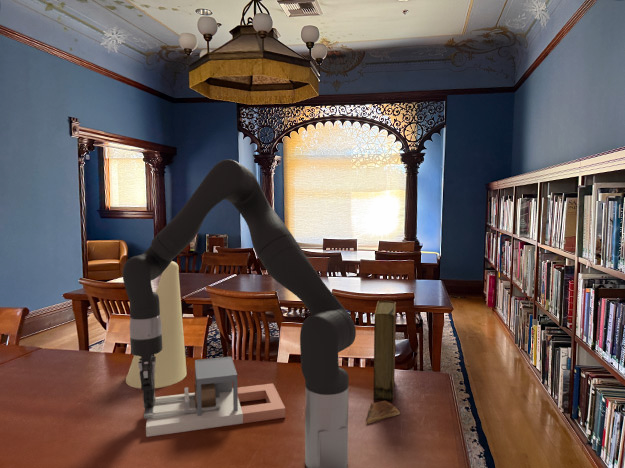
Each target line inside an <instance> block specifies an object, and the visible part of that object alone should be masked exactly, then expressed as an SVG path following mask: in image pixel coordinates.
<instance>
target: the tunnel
mask: <svg viewBox="0 0 625 468" xmlns="http://www.w3.org/2000/svg"><path fill="white" fill-rule="evenodd" d="M232 357H233V356H224V357H223V356H221V357H215V358H214V357H211V358H204V359H203V358H202V359H201V358H200V359H194V379H195V380H194V381H195V383H197V415H198V416H202V407H201V385H202V384H211V383H214V384H217V386H218V391H219V393H221V392H230V391H232V388H233V410H234V411H238V372H237V370H236V366H235V364H234V361H233V358H232ZM195 383H194V384H195Z"/></svg>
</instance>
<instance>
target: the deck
mask: <svg viewBox="0 0 625 468" xmlns="http://www.w3.org/2000/svg"><path fill="white" fill-rule="evenodd" d="M237 387H238V386H237ZM193 394H195V392H189V395H193ZM177 396H185V393H180V394H172V395H163V396H155V399H160V398H168V397H177ZM219 396H220V409H216V410H208V411H202V416H198V415H197V412H193V413H185V414H178V415H170V416H162V417H155V418H147V419H146V424H145V425H146V426H145V435H146V438H148V437H155V436H162V435H169V434H177V433H185V432H190V431H191V432H192V431H197V430H205V429H213V428H219V427H226V426H234V425H240V424H247V423H254V422H262V421H269V420H276V419H282V418H283V419H284V418H286V406H285V405H284V403H283V401H282V398H281V397H280V394H279V392H278V390H277V388H276V386H275V385H274V383H266V384H256V385H249V386H248V385H247V386H240V387H238V411H234V410H233V387H232V391H230V392H221V393H219ZM258 400H265V401H266V402H265V403H259V404H252V405H251V404H250V405H244V406H241V403H242V402H250V401H258ZM189 408H196V407H195V398H194V399H189ZM181 409H185V400H178V401H170V402H162V403H155V406H154V412H153V413H158V412H166V411H173V410H181Z"/></svg>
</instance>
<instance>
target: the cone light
mask: <svg viewBox="0 0 625 468" xmlns="http://www.w3.org/2000/svg"><path fill="white" fill-rule="evenodd" d="M179 266H180V265H178V263H177V262H175V261H173V260H172V262H171V263H170V264H169V265H168V267H167V268H166V269H165V270H164V272H163V273H162V274H161V275H160V278H159V282H158V285H157V287H156V290H155V292H156V293H157V294H158V296H159V303H160V318H161V325H162V350H161V351H160V352H159V353H157V354H154V355H155V356H156V364H155V369H156V371H155V389H160V388H165V387H169V386H173V385H174V384H177V383H179V382H181V381H183V380H184V379H185V377H187V364H186V363H187V362H186V349H185V338H184V325H183V313H182V311H183V310H182V301H181V300H182V299H181V297H182V296H181V285H180V273H179V270H180V269H179V268H180V267H179ZM139 358H141V357H140V356H135V355H133V358H132V361H131V364H130V366H129V370H128V373H127V375H126V378H125V383H126V384H127V385H128V386H129V387H132V388H136V389H141V380H140V369H139V366H138V362H139Z"/></svg>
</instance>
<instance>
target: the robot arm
mask: <svg viewBox="0 0 625 468" xmlns="http://www.w3.org/2000/svg"><path fill="white" fill-rule="evenodd" d="M224 200H226V201H227V202H230V203H231V204H232V205H233V207H234V208H235V209H236V210H237V211H238V212H239V214H240V215H241V217H242V219H244V222H245V223H246V225H247V228H248V230H249V234H250V240H251V244H252V247H253V249H254V252H255V254H256V255H257V258H258V259H259V261H260V262H261V264H262V265H263V268H265V271H267V273H268V274H269V276H270V277H271V278H272V279H274V281H276V282H277V283H278V284H280V286H282V287H283V288H285V289H286V290H288V291H289V292H290V293H291V294H293V295H294V296H295V297H297V298H298V299H299V300H300V301H301V302H302V304H304V307H305V308H306V309H307V310H308V311H309V313H310V315H309V316H308V317H307V318H305V319H304V320H303V322H302V325H301V328H300V332H299V346H300V347H299V349H300V366H301V373H302V376H303V378H304V385H305V386H304V387H305V388H304V389H305V390H304V391H305V393H304V397H305V399H304V447H305V449H304V454H305V455H304V458H305V459H304V461H305V462H304V463H305V466H306V468H348V465H349V391H350V389H349V381H350V379H349V378H350V377H349V373H348V371H346V370H345V369H344V368H343V367H341V366H339V363H340V362H339V353H340V352H342V351H344V350H345V349H347V348H349V347H350V346H352V345H353V344H354V342H355V340H356V336H357V335H356V334H357V333H356V332H357V330H356V325H355V323H354V320H353V318H352V317H351V315H350V314H349V312H348V310H347V309H346V308H345V307H344V306H343V305H342V303H341V302H340V301H339V299H338V298H337V297H336V296H335V295H334V293H333V292H331V290H330V289H329V288H328V286H327V285H326V284H325V282H324V281H323V279H322V278H321V277H320V275H319V273H318V272H317V270H316V269H315V268H314V266H313V264H312V263H311V262H310V260H309V259H308V256H307V255H305V253H304V251H303V249H302V247H301V246H300V245H299V243H298V242H297V240H296V239H295V238H294V236H293V234H292V233H291V231H290V230H289V229H288V227H287V225H285V222H283V221H282V219H281V218H280V216H279V215H278V214H277V212H276V211H275V210H274V209H273V207H272V206H271V204H270V203H269V201H268V199H267V197H266V195H265V193H264V191H263V190H262V187H261V185H260V183H259V181H258V179H257V177H256V176H255V174H254V172H252V171H251V169H249V168H248V167H246V166H245V165H243V164H241V163H239V162H238V161H236V160H235V159H234V160H233V159H223V160H220V161H219V162H217V163H216V164H214V166H213V167H212V168H211V169H210V170H209V172H208V173H207V174H206V176H205V177H204V178H203V180H202V182H200V184H199V185H198V187H197V189H195V191H194V192H193V193H192V195H191V196H190V197H189V199H188V201H187V202H185V204H184V206H183V207H182V208H181V209H180V210H179V211H178V213H177V214H176V215H175V216H174V217H173V218H172V220H171V221H169V222H168V223H167V224H166V225H165V226H164V227H163V228H161V230H160V231H159V232H158V233H157V234H156V235H155V236H154V237H153V239H152V241H151V245H150V246H149V248H147V249H146V251H144V252H143V253H141V254H138V255H134V256H132V257H130V258H128V259H127V260H126V261H125V263H124V264H123V267H122V268H123V269H122V281H123V283H124V284H123V285H124V287H125V292H126V294H127V297H128V300H129V301H128V302H129V318H130V319H129V340H130V342H129V344H130V354H131V355H133V356H134V355H135V356H140V357H141V358H139V362H138V366H139V369H140V380H141V388H140V389H141V391H142V392H143V393H142V394H143V395H144V403H145V404H148V403H152V402H153V387H154V385H153V379H154V380H155V371H156V369H155V364H156V356H155V355H154V354H157V353H159V352H160V351H161V350H162V325H161V318H160V303H159V296H158V294H157V293H156V291H154V290H153V286H152V281H154V280H156V279H157V278H158V277H159V276H161V275H162V273H163V272H164V270H165V269H166V268H167V267H168V265H169V264H170V263H171V262H172V261H173V260H174V259H175V258H176V257H177V256H178V255H180V254H181V253H182V252H183V251H184V250H185V249H186V248H187V247H188V246H189V245H190V244H191V242H193V240H194V239H195V238H196V236H197V235H198V234H199V231H200V230H201V229H200V228H201V226H202V224H203V222H204V220H205V219H206V217H207V215H209V213H210V211H212V210H213V208H215V206H217V205H218V204H220V203H221V202H222V201H224ZM145 383H150V384H145ZM143 395H142V396H143ZM144 403H143V404H144Z"/></svg>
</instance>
